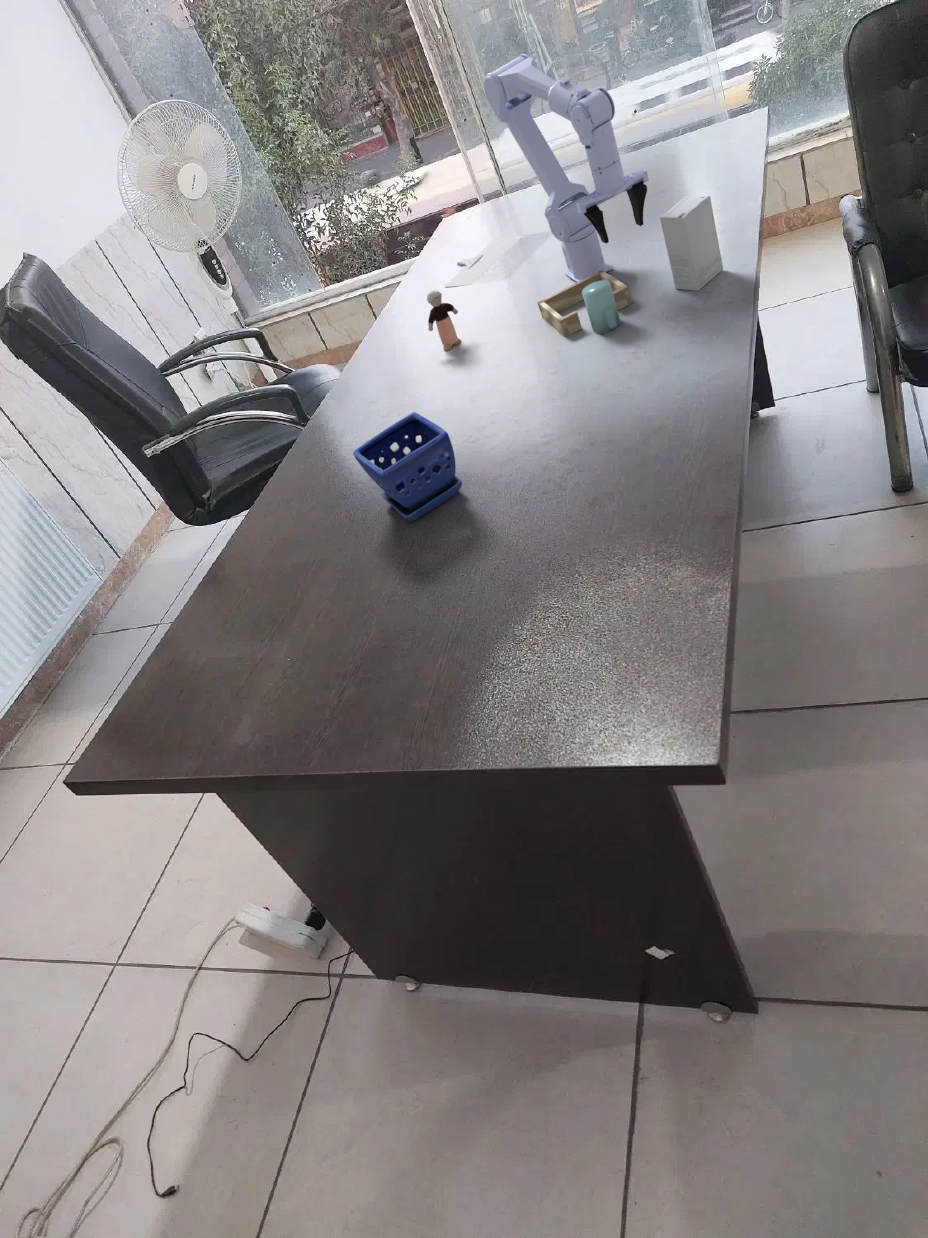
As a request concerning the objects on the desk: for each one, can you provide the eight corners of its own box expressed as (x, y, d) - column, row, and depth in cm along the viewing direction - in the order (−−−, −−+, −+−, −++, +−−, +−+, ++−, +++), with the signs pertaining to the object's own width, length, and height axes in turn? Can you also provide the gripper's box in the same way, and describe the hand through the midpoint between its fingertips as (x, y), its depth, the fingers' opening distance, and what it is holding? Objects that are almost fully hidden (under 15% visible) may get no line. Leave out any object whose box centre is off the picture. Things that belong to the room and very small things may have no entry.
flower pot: (409, 533, 142) (379, 475, 134) (379, 505, 152) (349, 449, 145) (475, 490, 144) (449, 430, 136) (441, 465, 154) (414, 408, 147)
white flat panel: (483, 242, 233) (481, 238, 233) (556, 233, 219) (555, 229, 218) (432, 290, 221) (431, 285, 220) (507, 284, 207) (505, 279, 206)
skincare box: (700, 268, 172) (685, 193, 163) (725, 269, 168) (711, 193, 159) (674, 290, 170) (657, 215, 161) (698, 292, 165) (683, 215, 156)
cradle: (542, 317, 183) (537, 302, 181) (605, 285, 183) (601, 269, 181) (565, 336, 173) (560, 320, 171) (632, 302, 173) (628, 286, 170)
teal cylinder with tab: (602, 340, 166) (591, 301, 161) (589, 327, 172) (578, 289, 167) (628, 327, 166) (618, 288, 161) (614, 315, 172) (604, 277, 167)
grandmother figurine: (447, 354, 188) (424, 299, 180) (436, 352, 191) (413, 299, 183) (471, 335, 191) (449, 280, 183) (460, 333, 193) (438, 280, 186)
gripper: (578, 183, 161) (597, 253, 170) (648, 148, 161) (664, 220, 169) (565, 177, 167) (584, 246, 175) (632, 143, 167) (648, 213, 175)
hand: (622, 232), depth 173 cm, fingers open, 7 cm apart
